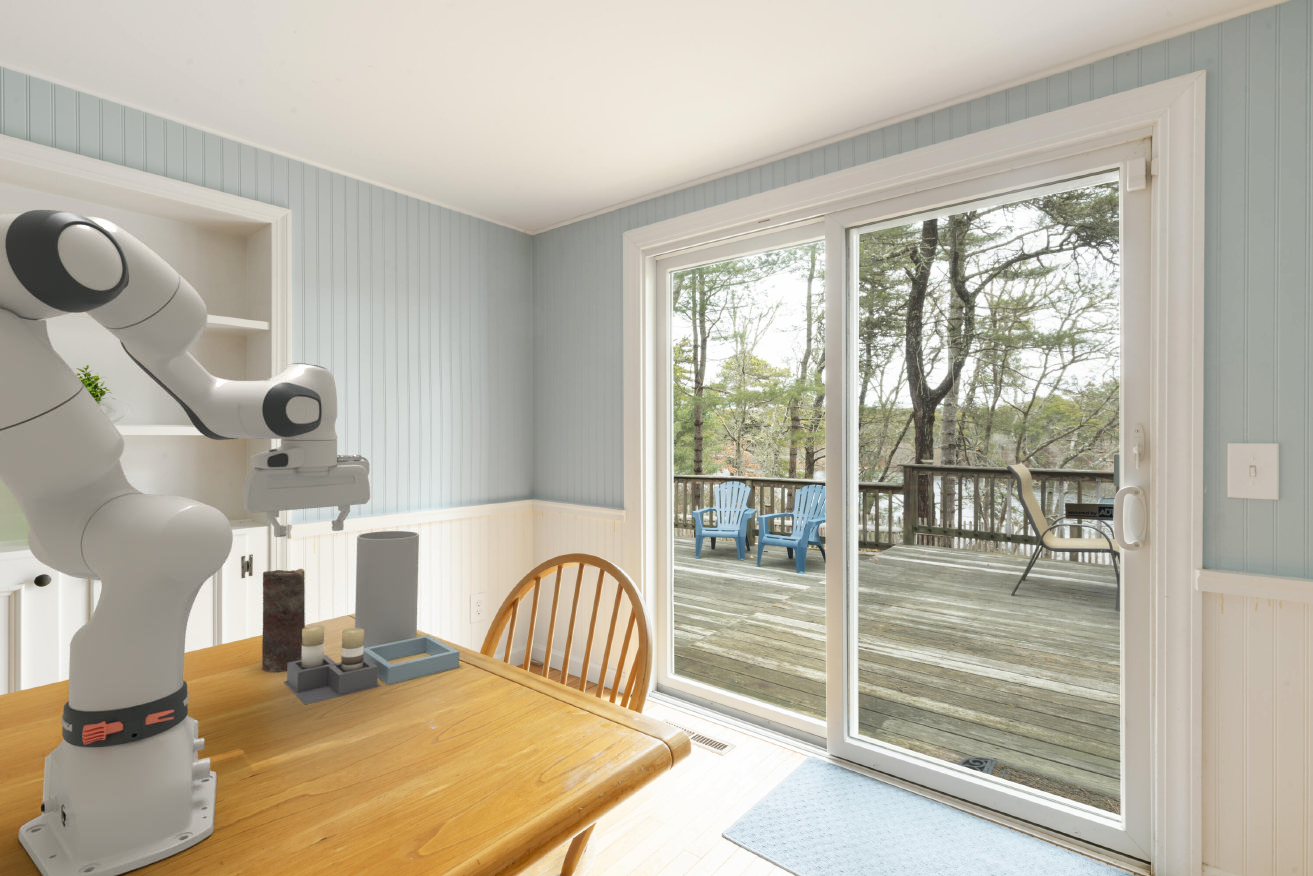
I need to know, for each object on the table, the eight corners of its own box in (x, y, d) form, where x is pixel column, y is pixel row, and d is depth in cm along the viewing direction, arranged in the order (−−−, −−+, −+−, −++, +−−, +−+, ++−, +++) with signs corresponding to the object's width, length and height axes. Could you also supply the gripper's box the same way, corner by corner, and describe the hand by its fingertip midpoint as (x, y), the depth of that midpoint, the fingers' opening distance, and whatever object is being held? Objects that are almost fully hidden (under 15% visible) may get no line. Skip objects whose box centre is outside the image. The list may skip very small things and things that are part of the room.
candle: (251, 674, 124) (254, 571, 124) (283, 662, 131) (286, 564, 131) (282, 679, 122) (285, 574, 122) (313, 666, 129) (316, 567, 129)
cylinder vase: (341, 653, 137) (343, 536, 137) (386, 637, 148) (388, 529, 148) (385, 662, 132) (388, 541, 132) (428, 645, 144) (431, 533, 144)
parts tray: (458, 672, 128) (459, 651, 128) (388, 690, 118) (388, 667, 118) (428, 654, 138) (428, 635, 138) (360, 669, 128) (360, 648, 128)
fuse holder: (380, 691, 117) (381, 666, 117) (305, 710, 108) (305, 684, 108) (354, 671, 127) (355, 648, 127) (283, 687, 118) (283, 662, 118)
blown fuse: (366, 685, 117) (367, 630, 117) (344, 690, 115) (346, 634, 115) (358, 679, 120) (360, 626, 120) (337, 684, 117) (339, 630, 117)
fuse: (325, 682, 118) (327, 628, 118) (304, 687, 115) (305, 632, 116) (319, 677, 121) (320, 624, 121) (298, 682, 118) (299, 627, 118)
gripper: (362, 453, 124) (362, 525, 124) (239, 457, 109) (239, 537, 110) (375, 455, 119) (375, 529, 120) (249, 458, 105) (249, 542, 105)
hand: (309, 533), depth 114 cm, fingers open, 8 cm apart
